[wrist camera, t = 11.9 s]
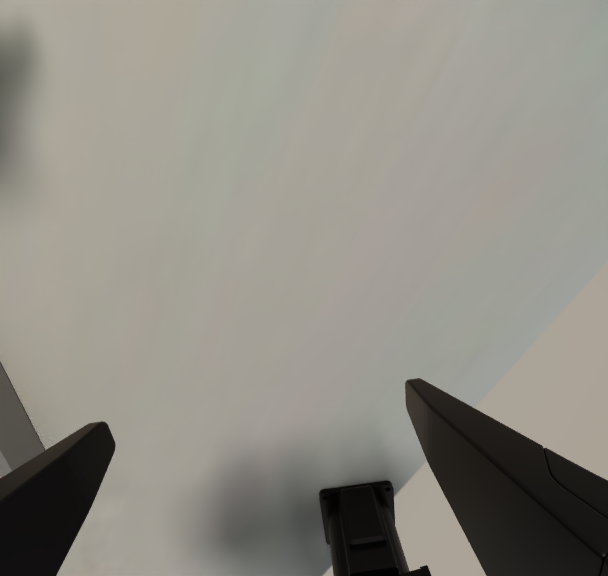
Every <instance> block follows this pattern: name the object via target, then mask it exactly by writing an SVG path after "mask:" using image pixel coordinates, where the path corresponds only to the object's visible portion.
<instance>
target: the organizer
mask: <svg viewBox="0 0 608 576" xmlns="http://www.w3.org/2000/svg"><path fill="white" fill-rule="evenodd" d="M44 451H45V450H44V448H43V446H42V444H41V442H40V440H39V438H38V436H37V434H36V432H35V430H34V428H33V426H32V424H31V422H30V420H29V418H28V416H27V414H26V412H25V410H24V408H23V406H22V404H21V403H20V401H19V399H18V397H17V395H16V393H15V391H14V389H13V387H12V385H11V383H10V381H9V379H8V377H7V375H6V373H5V371H4V369H3V367H2V365H1V363H0V478H2V477H3V476H5V475H7V474H8V473H10V472H11V471H13V470H15V469H16V468H18V467H20V466H21V465H23V464H24V463H26V462H28V461H29V460H31V459H32V458H34V457H36V456H37V455H39V454H41V453H42V452H44Z"/></svg>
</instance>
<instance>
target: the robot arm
mask: <svg viewBox="0 0 608 576" xmlns="http://www.w3.org/2000/svg"><path fill="white" fill-rule="evenodd" d="M405 393H406V407H407V411H408V414H409V416H410V419H411V421H412V424H413V426H414V429H415V431H416V434H417V436H418V439H419V441H420V444H421V447H422V449H423V452H424V454H425V456H426V459H427V461H428V463H429V465H430V467H431V469H432V471H433V473H434V475H435V477H436V479H437V481H438V483H439V485H440V487H441V489H442V491H443V493H444V495H445V497H446V498H447V500H448V502H449V504H450V506H451V508H452V510H453V512H454V514H455V516H456V518H457V520H458V522H459V523H460V525H461V527H462V529H463V531H464V533H465V535H466V537H467V539H468V541H469V542H470V544H471V547H472V548H473V550H474V552H475V554H476V556H477V558H478V560H479V562H480V564H481V566H482V568H483V570H484V571H485V573H486V575H487V576H608V480H606V479H604V478H602V477H600V476H597V475H596V474H594V473H592V472H590V471H588V470H586V469H584V468H582V467H581V466H579V465H577V464H575V463H573V462H571V461H569V460H567V459H565V458H564V457H562V456H560V455H558V454H556V453H555V452H553V451H551V450H549V449H547V448H543V446H542V445H540V444H538V443H536V442H534V441H533V440H530V439H529V438H527V437H525V436H524V435H522V434H520V433H518V432H516V431H515V430H513V429H511V428H509V427H507V426H505V425H504V424H502V423H500V422H498V421H496V420H494V419H493V418H491V417H489V416H487V415H485V414H484V413H482V412H480V411H478V410H477V409H475V408H473V407H471V406H469V405H467V404H466V403H464V402H462V401H460V400H458V399H457V398H455V397H453V396H451V395H449V394H448V393H446V392H444V391H442V390H440V389H438V388H437V387H435V386H433V385H431V384H429V383H428V382H426V381H424V380H422V379H420V378H417V379H410V380H407V381H406V383H405ZM114 451H115V441H114V439H113V436H112V434H111V431H110V429H109V426H108V424H107V423H106V422H95V423H90V424H88V425H86V426H84V427H83V428H81V429H79V430H78V431H76V432H75V433H73V434H71V435H70V436H68V437H66V438H65V439H63V440H62V441H60V442H58V443H57V444H55V445H53V446H52V447H50V448H49V449H47V450H45V451H44V452H42V453H41V454H39V455H37V456H36V457H34V458H32V459H31V460H29V461H28V462H26V463H24V464H23V465H21V466H20V467H18V468H16V469H15V470H13V471H11V472H10V473H8V474H7V475H5V476H3V477H2V478H0V576H56V575H57V573H58V571H59V569H60V567H61V565H62V563H63V561H64V559H65V557H66V556H67V554H68V552H69V550H70V548H71V546H72V544H73V542H74V540H75V538H76V536H77V534H78V532H79V530H80V528H81V526H82V524H83V522H84V521H85V519H86V517H87V515H88V513H89V510H90V508H91V506H92V504H93V502H94V499H95V497H96V495H97V492H98V490H99V487H100V485H101V483H102V480H103V478H104V475H105V473H106V471H107V468H108V466H109V463H110V461H111V459H112V456H113V454H114ZM319 497H320V504H321V511H322V517H323V524H324V530H325V537H326V542H327V544H329V545H330V547H331V556H332V565H333V573H334V576H431V574H430V571H429V569H428V566H427V565H426V566H422V567H420V569H417V570H414V571H409V568H408V565H407V562H406V559H405V556H404V553H403V550H402V547H401V543H400V540H399V537H398V534H397V531H396V527H395V514H394V493H393V486H392V483H391V482H390V481H382V482H374V483H367V484H360V485H353V486H346V487H338V488H331V489H324V490H321V491H320V493H319Z"/></svg>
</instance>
